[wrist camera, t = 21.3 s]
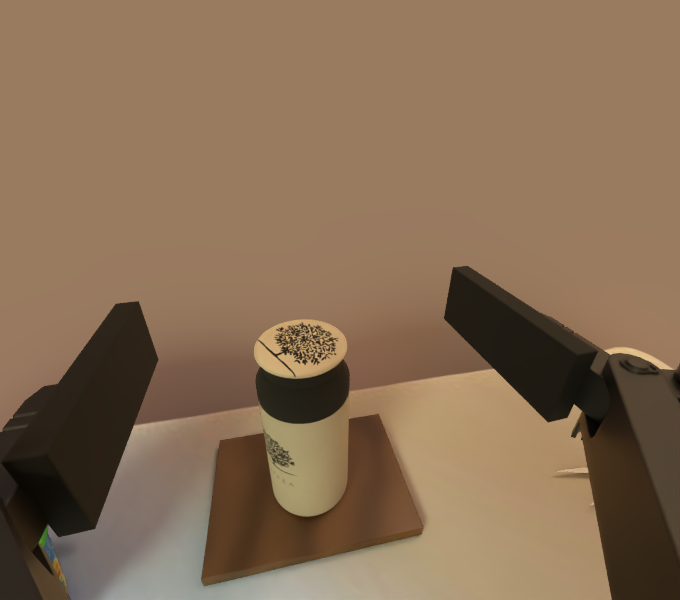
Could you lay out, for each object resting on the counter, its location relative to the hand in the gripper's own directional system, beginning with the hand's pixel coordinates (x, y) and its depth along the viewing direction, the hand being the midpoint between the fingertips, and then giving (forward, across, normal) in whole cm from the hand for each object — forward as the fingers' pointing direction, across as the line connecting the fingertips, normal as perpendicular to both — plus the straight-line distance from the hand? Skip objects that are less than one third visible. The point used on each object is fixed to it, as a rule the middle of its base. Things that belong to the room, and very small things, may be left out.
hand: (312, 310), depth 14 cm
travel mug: (+10, 0, -27) cm, 29 cm away
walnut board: (+10, 0, -28) cm, 30 cm away
